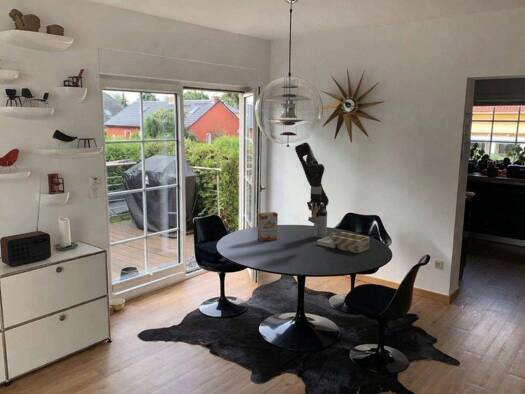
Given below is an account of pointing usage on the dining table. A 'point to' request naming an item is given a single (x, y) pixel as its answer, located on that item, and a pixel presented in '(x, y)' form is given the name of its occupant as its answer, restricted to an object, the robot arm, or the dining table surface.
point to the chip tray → (326, 242)
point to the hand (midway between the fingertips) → (315, 216)
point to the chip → (332, 234)
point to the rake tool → (313, 217)
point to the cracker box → (267, 226)
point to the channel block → (351, 242)
